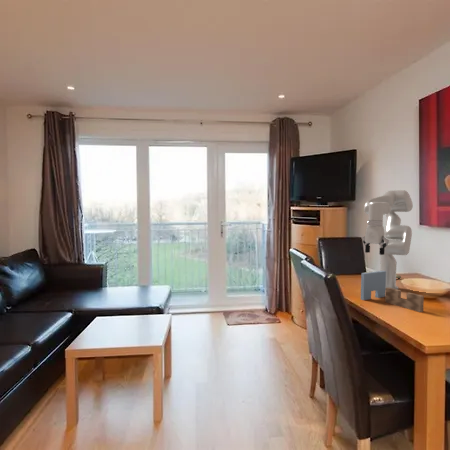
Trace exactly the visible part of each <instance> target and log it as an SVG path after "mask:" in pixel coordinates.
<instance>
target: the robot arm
mask: <svg viewBox="0 0 450 450" xmlns="http://www.w3.org/2000/svg"><path fill="white" fill-rule="evenodd" d="M412 209H413V201H412V198H411V195H410V194H409V192H408V191H407V190H401V189H400V190H396V189H395V190H387V191H385V193H383V195H381V196H377V197H373V198H370V199H369V200H367V201H366V202H365V204H364V207H363V212H364V214H365V215H368V220H367V222H366V223H367V226H366V229H365V235H364V236H363V237H362V238H361V240H362V242H363V244H364V248H365V251H364V252H365V253H366V254H367V253H371V244H372V245H373V244H374V245H378V246H379V247H378V249H379V253H378V254H379V255H380V256H379V258H380V259H379V260H380V262H379V271H386V288H388V287H389V288H393V289H397V290H399V286H398V285H397V279H396V274H397V259H396V258H395V255H396V256H407V255H409V253H410V249H411V243H412V242H411V241H412V234H413V232H412V231H413V229H412V228H411V226H409V225H405V224H404V225H403V224H402V219H401V218H400V216H399V215H398V214H397V213H398V212H399V213H409V212H411V211H412ZM384 216H385V218H386V221H385V226H383V224H384ZM401 224H402V225H401Z"/></svg>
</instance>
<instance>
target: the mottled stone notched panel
mask: <svg viewBox="0 0 450 450" xmlns="http://www.w3.org/2000/svg"><path fill="white" fill-rule="evenodd" d="M424 298H425V296H424V295H421V294H417V293H413V292H406V298H404V297H402V289H393V288H389V287H388V288H386V289H385V297H384V299H385V301H384V302H385V303H387V304H390V305H394V306H397V307H398V306H399V307H401V308H404V309H408V310H411V311H415V312H418V313H423V312H424V303H425V299H424Z"/></svg>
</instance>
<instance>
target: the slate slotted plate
mask: <svg viewBox="0 0 450 450" xmlns="http://www.w3.org/2000/svg"><path fill="white" fill-rule="evenodd" d="M367 272H368V273H365V272H361V275H360V277H361V278H360V301H361V300H362V301H367V300H368V301H369V300H371V299H372V292H375V297H374V298H378V299H379V298H385V295H386V271H380V270H379V271H367Z"/></svg>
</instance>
